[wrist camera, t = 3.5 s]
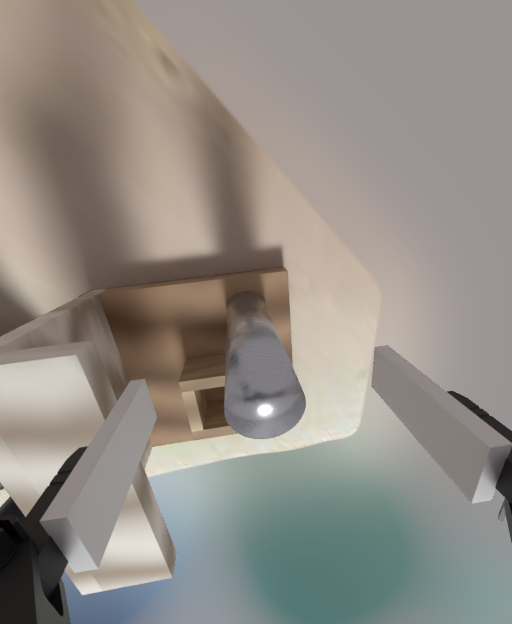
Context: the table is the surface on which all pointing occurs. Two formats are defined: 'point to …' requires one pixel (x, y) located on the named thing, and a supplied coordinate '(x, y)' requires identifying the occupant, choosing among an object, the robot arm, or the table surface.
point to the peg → (258, 372)
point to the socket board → (109, 387)
